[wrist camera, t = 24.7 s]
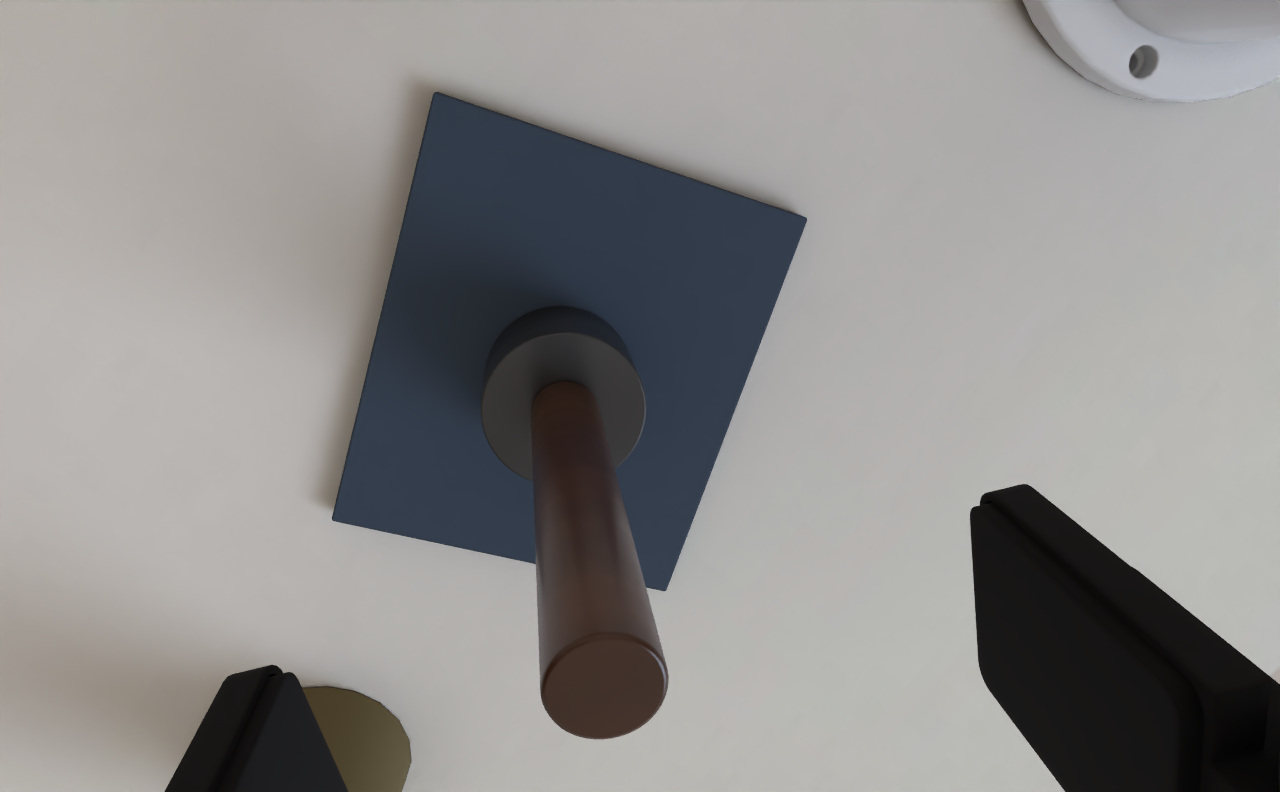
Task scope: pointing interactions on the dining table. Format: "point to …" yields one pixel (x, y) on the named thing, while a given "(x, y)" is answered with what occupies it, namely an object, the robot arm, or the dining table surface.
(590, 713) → the brush
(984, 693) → the dining table surface
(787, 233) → the mat
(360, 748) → the olive game pawn
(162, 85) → the dining table surface
